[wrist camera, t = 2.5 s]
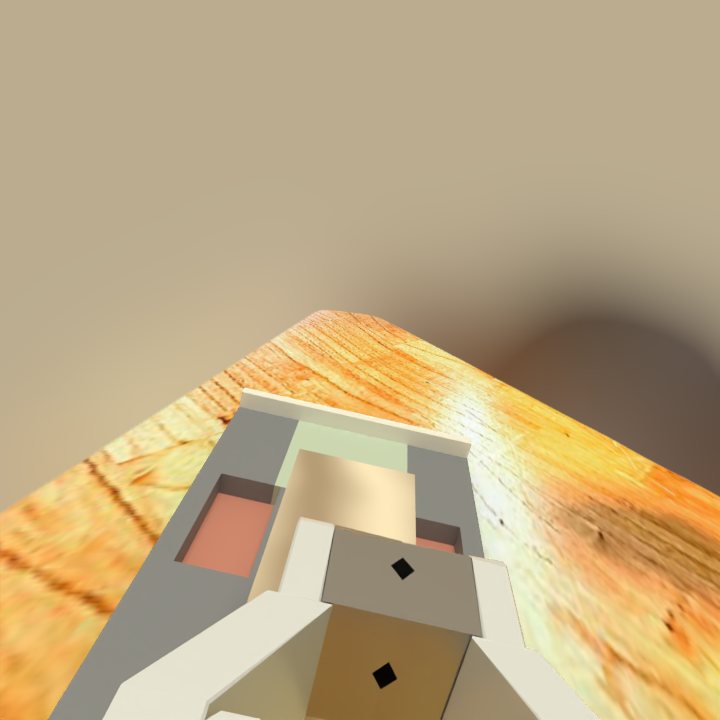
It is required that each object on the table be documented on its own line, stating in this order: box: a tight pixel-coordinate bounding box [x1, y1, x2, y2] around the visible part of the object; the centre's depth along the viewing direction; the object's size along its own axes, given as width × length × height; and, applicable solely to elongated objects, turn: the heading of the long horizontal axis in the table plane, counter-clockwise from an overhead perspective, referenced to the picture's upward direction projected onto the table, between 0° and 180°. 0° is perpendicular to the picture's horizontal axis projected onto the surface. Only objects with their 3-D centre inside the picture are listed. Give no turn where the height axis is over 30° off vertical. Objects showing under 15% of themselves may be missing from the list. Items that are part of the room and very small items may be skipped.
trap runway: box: [48, 388, 484, 720], centre depth 41 cm, size 21×36×4 cm, turn 176°
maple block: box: [247, 449, 416, 720], centre depth 28 cm, size 6×11×10 cm, turn 176°
